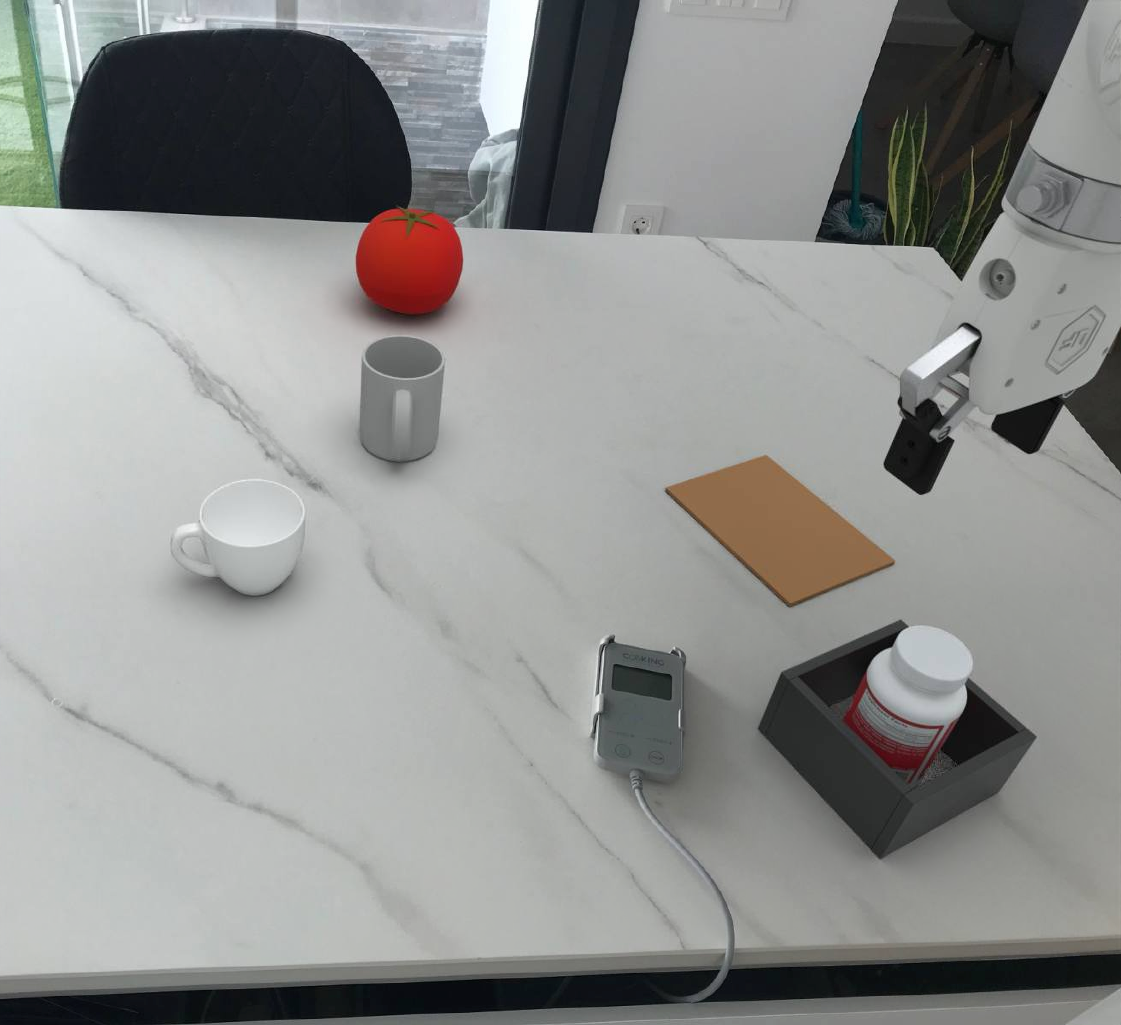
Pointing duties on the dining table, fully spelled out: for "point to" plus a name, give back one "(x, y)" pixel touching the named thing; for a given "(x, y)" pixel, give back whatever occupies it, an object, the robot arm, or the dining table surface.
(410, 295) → the tomato
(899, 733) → the pill bottle
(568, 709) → the dining table surface
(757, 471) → the cork mat
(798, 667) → the bin
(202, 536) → the cup
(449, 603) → the dining table surface
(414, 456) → the cup
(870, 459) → the dining table surface
